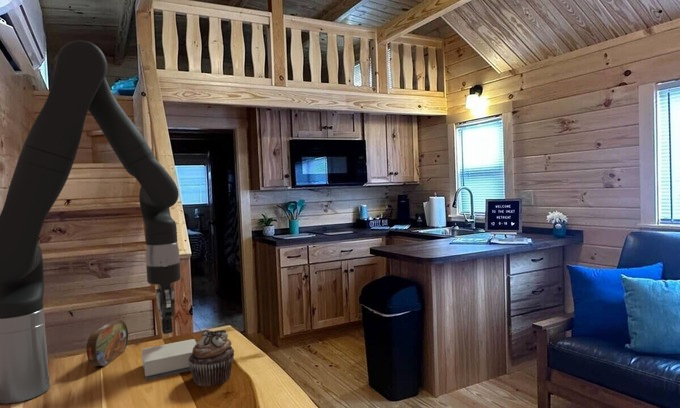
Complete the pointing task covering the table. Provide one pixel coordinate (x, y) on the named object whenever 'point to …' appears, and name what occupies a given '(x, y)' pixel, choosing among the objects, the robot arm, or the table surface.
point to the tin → (107, 343)
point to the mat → (166, 373)
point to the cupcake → (211, 359)
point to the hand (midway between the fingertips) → (167, 332)
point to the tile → (167, 357)
